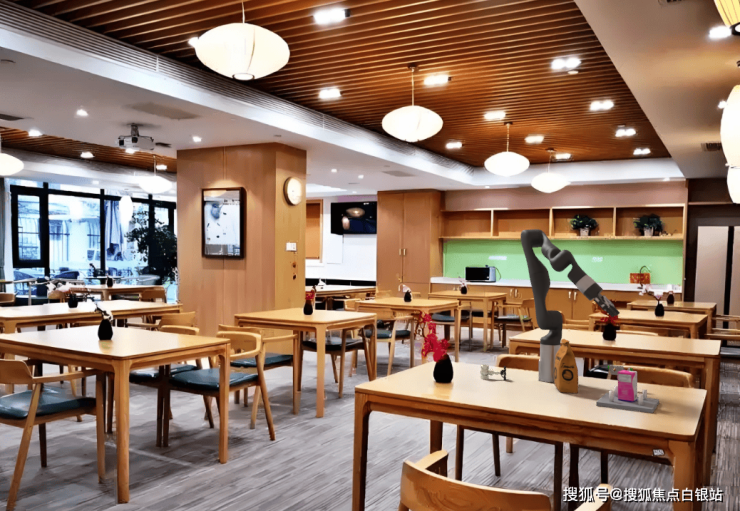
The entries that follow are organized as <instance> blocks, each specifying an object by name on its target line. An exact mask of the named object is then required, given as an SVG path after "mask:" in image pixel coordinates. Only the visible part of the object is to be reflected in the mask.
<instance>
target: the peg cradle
mask: <svg viewBox="0 0 740 511" xmlns="http://www.w3.org/2000/svg"><path fill="white" fill-rule="evenodd" d="M613 389H614V390H609V391H608V392H605V394H603V395H602V396H601V397H600V398H599V399H597V401H596V404H595V405H596V406H597V407H602V408H610V409H611V408H612V409H617V410H624V409H625V411H627V410H628V411H631V412H632V411H633V412H634V411H635V412H639V411H640V412H641V413H647V412H648V414H653V413H654V412H655V410H656V409H657V407H658V406H659V404H660V399H658V398H654V397H653V398H651V397H648V389H642V393H638V396H637V399H638V400H637V401H635V402H633V403H632V402H626V401H620V400H618V385H615V386H614V387H613ZM657 405H658V406H657Z"/></svg>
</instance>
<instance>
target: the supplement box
mask: <svg viewBox="0 0 740 511" xmlns="http://www.w3.org/2000/svg"><path fill="white" fill-rule="evenodd" d="M617 386H618V400H620V401H626V402H632V403H633V402H635V401H637V400H638V399H637V397H638V371H636V370H633V371H628V369H627V370H626V369H625V370H622V371H619V372H618V379H617Z"/></svg>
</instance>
